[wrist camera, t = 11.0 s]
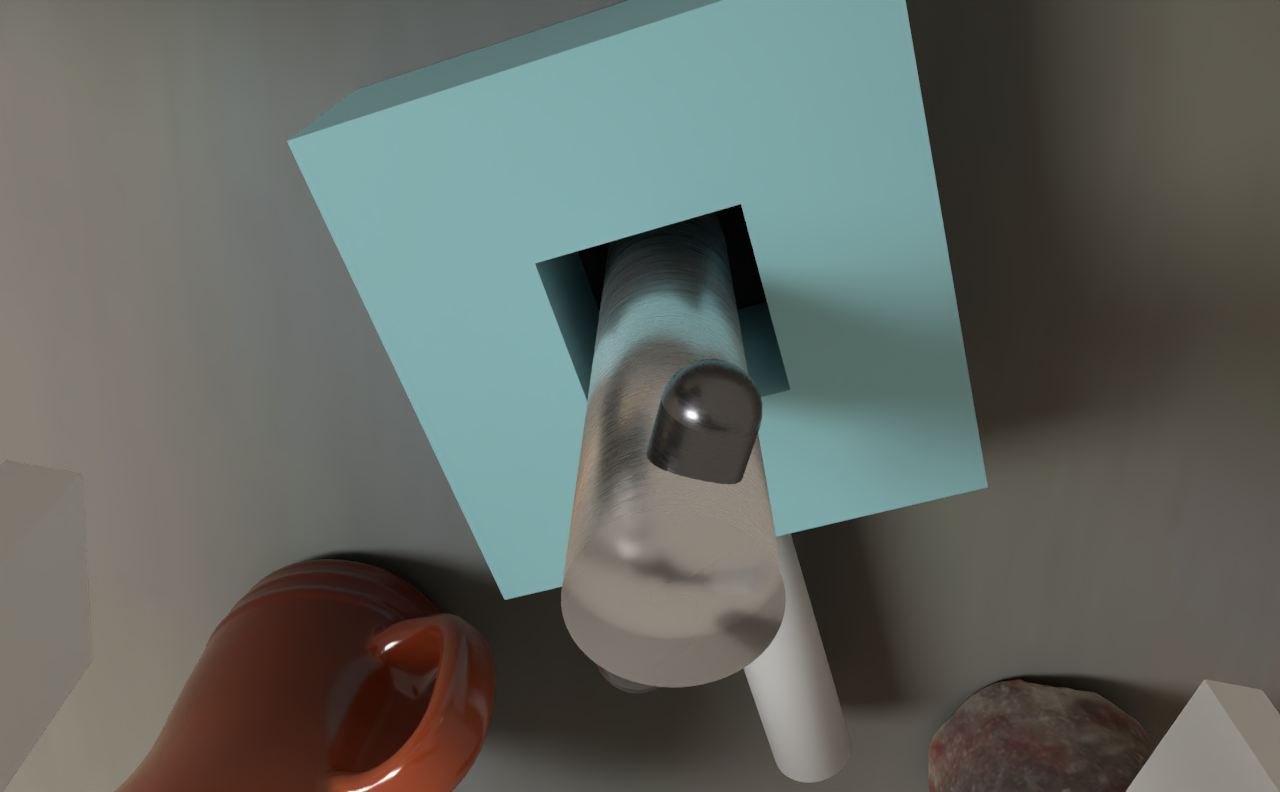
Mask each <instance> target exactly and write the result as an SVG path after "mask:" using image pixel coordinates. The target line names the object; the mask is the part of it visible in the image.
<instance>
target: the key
mask: <svg viewBox="0 0 1280 792" xmlns="http://www.w3.org/2000/svg"><path fill="white" fill-rule="evenodd" d="M761 421H762V400H761V395H760V392H759V390H758V388H757V386H756V384H755V382H754V381H753V380H752V378H751V377H750V376H749V375H748V370H747V364H746V358H745V353H744V347H743V341H742V335H741V329H740V323H739V317H738V312H737V306H736V300H735V294H734V288H733V282H732V276H731V271H730V265H729V259H728V253H727V247H726V241H725V236H724V231H723V228H722V225H721V223H720V221H719V219H718V217H717V215H716V214H715V213H714V212H712V213H708V214H705V215H701V216H698V217H694V218H691V219H688V220H684V221H681V222H677V223H674V224H670V225H667V226H663V227H660V228H656V229H653V230H649V231H646V232H643V233H639V234H636V235H632V236H629V237H625V238H622V239H618V240H615V241H611V242H609V247H608V255H607V262H606V269H605V277H604V284H603V291H602V298H601V306H600V313H599V320H598V328H597V335H596V342H595V350H594V357H593V364H592V372H591V379H590V386H589V394H588V401H587V408H586V415H585V423H584V430H583V437H582V445H581V452H580V459H579V467H578V474H577V481H576V489H575V496H574V503H573V510H572V518H571V525H570V532H569V540H568V547H567V554H566V562H565V569H564V576H563V584H562V591H561V608H562V614H563V618H564V621H565V624H566V627H567V629H568V631H569V633H570V635H571V637H572V639H573V640H574V641H575V643H576V644H577V645H578V647H579V648H580V649H581V650H582V651H583V652H584V653H585V654H586V655H587V656H588V657H589V658H590V659H591V660H592V661H594V662H595V663H596V664H597V666H598V669H599V671H600V672H601V674H602V675H603V676H604V678H605V679H606V680H607V681H608V682H609V683H610V684H612V685H613V686H614V687H616V688H618V689H620V690H622V691H625V692H629V693H646V692H650V691H653V690H656V689H658V688H659V687H690V686H696V685H702V684H706V683H710V682H714V681H717V680H720V679H722V678H725V677H728V676H730V675H732V674H734V673H736V672H738V671H740V670H741V669H743V668H744V667H746V666H747V665H749V664H751V663H752V662H753V661H754V660H755V659H757V658H758V657H759V656H760V655H761V654H762V653H763V652H764V651H765V650H766V649H767V648H768V646H769V645H770V644H771V642H772V641H773V639H774V638H775V636H776V634H777V632H778V630H779V628H780V626H781V623H782V620H783V617H784V612H785V605H786V596H785V587H784V581H783V575H782V569H781V563H780V557H779V551H778V546H777V540H776V534H775V528H774V522H773V516H772V511H771V505H770V499H769V493H768V487H767V481H766V475H765V470H764V464H763V458H762V452H761V446H760V440H759V434H758V431H759V428H760V425H761Z"/></svg>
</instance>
